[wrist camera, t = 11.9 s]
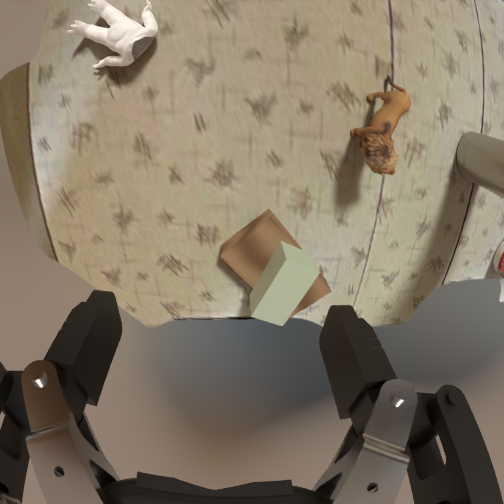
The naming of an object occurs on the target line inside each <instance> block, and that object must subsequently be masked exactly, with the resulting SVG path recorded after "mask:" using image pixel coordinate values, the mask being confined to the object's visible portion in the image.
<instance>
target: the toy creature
mask: <svg viewBox="0 0 504 504" xmlns="http://www.w3.org/2000/svg"><path fill="white" fill-rule="evenodd" d="M91 2H92V4H88V6H89V8H90V9H93V10H94V11H96V12H98V13H99V15H100V16H101V17H102V18H103V19H105V21H106V22H107V23H108V24H109V25H110V26H111V27H110V28H109V29H108V28H103V27H98V26H96V25H92V24H90V25H88V24H86V23H83V22H81V21H74V22H75V24H74V25H70V27H71V28H73V29H71V30H68V31H67V32H68V33H69V34H70V35H80V36H84V37H86V38H88V39H91V40H93V41H94V42H97V43H100V44H103V45H105V46H107V47H108V48H110V49H111V50H112V51H115V52H117V53H119V54H120V55H121V56H108V57H106V58H105V59H103V60H101V61H100V62H99V64H98V65H97V64H95V66H93V65H92V67H94V68H102V67H104V66H105V65H107V66H127V65H130V64H131V63H132V62H133V61H135V60H136V59H138V58H139V57H140V56H141V55H142V54H143V53H144V52H145V51H146V49H147V48H148V47H149V46H150V44H151V43H152V42H153V40H154V38H155V36H156V34H157V33H158V25H157V22H156V20H155V18H154V15H153V14H152V13H151V10H152V7H151V3H150V2H149V1H146V2H147V3H146V5H147V6H146V7H144V10H143V13H142V21H143V22H144V25H145V27H143V26H141V25H140V24H139V23H137V22H136V21H134V20H131V19H129V18H128V17H127V16H125V15H124V14H123V13H122V12H121V11H119V10H117V9H115V8H114V7H113V6H111V5H110V4H108V3H107V2H106V1H105V0H91Z"/></svg>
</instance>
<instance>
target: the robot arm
mask: <svg viewBox="0 0 504 504" xmlns="http://www.w3.org/2000/svg"><path fill="white" fill-rule="evenodd" d="M457 165H458V168H459V171H460V173H461V174H462V176H463V177H464V178H466V179H468V180H470V181H472V182H474V183H476V184H478V185H479V186H481V187H483V188H485V189H487V190H489V191H491V192H493V193H495V194H496V195H498V196H500V197H502V198H504V141H503V140H500V139H496V138H493V137H490V136H487V135H483V134H479V133H476V132H468V133H466V134H465V135H464V136H463V137H462V138H461V140H460V142H459V145H458V149H457ZM121 335H122V322H121V318H120V314H119V310H118V306H117V302H116V298H115V295H114V293H113V292H109V291H100V290H94V291H93V292H92V293H91V295H90V296H89V298H88V299H87V301H86V302H81V303H80V304H78V305H77V306H76V307H75V308H74V309H72V311H71V312H70V314H69V316H68V317H67V319H66V321H65V322H64V324H63V326H62V329H61V330H60V331H59V332H58V334H57V336H56V338H55V339H54V341H53V343H52V345H51V347H50V348H49V350H48V352H47V354H46V356H45V358H44V359H43V360H36V361H33V362H32V363H30V364H29V365H28V366H27V367H26V368H25V369H24V371H7V370H6V369H5V367H4V366H3V365H2V363H1V362H0V414H1V411H2V412H3V413H4V414H5V417H4V420H3V423H2V426H1V429H0V504H22V497H23V490H24V484H25V478H26V473H27V468H28V463H29V458H30V459H31V462H32V465H33V468H34V471H35V473H36V476H37V479H38V482H39V485H40V487H41V490H42V492H43V494H44V497H45V499H46V501H47V504H394V501H395V499H396V497H397V494H398V492H399V489H400V486H401V484H402V482H403V479H404V476H405V473H406V470H407V472H408V476H409V481H410V484H411V489H412V494H413V499H414V504H503V501H502V496H501V492H500V489H499V485H498V481H497V478H496V475H495V471H494V468H493V465H492V462H491V459H490V456H489V453H488V451H487V448H486V445H485V442H484V440H483V437H482V435H481V432H480V430H479V427H478V425H477V423H476V420H475V418H474V415H473V413H472V411H471V409H470V406H469V404H468V402H467V400H466V398H465V396H464V394H463V393H462V391H461V390H460V389H459V388H457V387H455V386H453V385H444V386H442V387H441V388H440V389H439V390H438V391H437V392H436V393H435V394H431V393H418V392H416V391H415V389H414V388H413V387H412V386H411V385H410V384H409V383H407V382H405V381H403V380H399V379H397V377H396V375H395V373H394V371H393V368H392V366H391V364H390V362H389V360H388V358H387V356H386V354H385V352H384V350H383V348H381V344H380V342H379V340H377V336H376V334H375V332H374V330H373V328H372V327H371V326H370V325H369V324H368V323H367V322H366V321H365V320H364V319H363V318H358V317H357V315H356V313H355V311H354V309H353V307H352V306H351V305H332V306H331V307H330V308H329V311H328V314H327V317H326V320H325V323H324V326H323V328H322V331H321V334H320V340H319V345H320V350H321V354H322V357H323V361H324V364H325V367H326V371H327V374H328V378H329V381H330V385H331V388H332V392H333V395H334V399H335V402H336V406H337V409H338V413H339V417H340V419H346V418H351V420H352V423H353V424H352V425H351V426H350V428H349V430H348V432H347V434H346V436H345V438H344V440H343V442H342V444H341V446H340V448H339V450H338V451H337V453H336V455H335V457H334V459H333V461H332V462H331V464H330V466H329V467H328V469H327V470H326V471H325V472H324V473H323V475H322V476H321V477H320V479H319V480H318V481H317V483H316V484H315V486H314V488H313V489H312V490H309V489H306V488H302V487H297V486H292V481H291V480H282V481H267V482H252V483H248V484H244V485H239V486H234V487H229V488H224V489H218V490H210V489H207V488H204V487H200V486H197V485H194V484H190V483H187V482H184V481H181V480H178V479H176V478H171V477H164V476H158V475H152V474H147V473H142V472H137V478H130V479H123V480H120V478H119V476H118V475H117V473H116V471H115V470H114V468H113V467H112V465H111V464H110V463H109V461H108V460H107V459H106V457H105V455H104V454H103V452H102V450H101V448H100V445H99V443H98V441H97V439H96V437H95V435H94V433H93V430H92V428H91V426H90V423H89V421H88V418H87V416H86V414H85V412H84V409H85V406H86V404H90V405H94V406H97V404H98V401H99V397H100V394H101V391H102V388H103V385H104V382H105V379H106V377H107V374H108V371H109V368H110V365H111V362H112V360H113V357H114V354H115V352H116V349H117V346H118V343H119V341H120V339H121ZM438 435H439V437H440V440H441V443H442V446H443V449H444V452H445V455H446V464H445V465H444V463H443V460H442V456H441V454H440V450H439V447H438V444H437V441H436V438H435V437H436V436H438Z"/></svg>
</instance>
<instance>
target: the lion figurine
mask: <svg viewBox="0 0 504 504" xmlns="http://www.w3.org/2000/svg"><path fill="white" fill-rule="evenodd" d="M387 81H388V82H389V84H390V85H391V86H393V87H394V88H396V89H397V90H399V91H389V92H386V93H383V92H378V93H372V94H369V95H368V96H367V99H368V100H369V101H370V102H373V101H374V100H375V99H376V98H378V97H380V98H381V99H382V100H384V101H385V102H386V103H385V105H384V106H383V107H382V108H380V109H379V110H378V111H377V112H376V113H375V115H374V116H373V118H372V121H371V123H370V126H369V127H366V128H355V129H352V130H351V131H350V133H351V136H353V137H357V136H360V137H361V139H360V140H359V143H360V145H361V146H360V150H361V152H362V155H363V156H364V159H365V161H366V164H367V165H368V166H369V167H370V169H371V170H372V171H373V172H374V173H378V174H381V175H384V174H385V173H386V174H390V175H393V174H394V173H395V165H396V162H397V161H398V158H399V156H398V155H397V154H396V152H395V150H394V148H393V144H394V141H393V140H392V133H393V131H394V130H395V128H396V126H397V123H398V121H399V119H400V117H401V116H402V115H403V114H404V113H405V112H407V111H408V110H409V108H410V105H411V100H410V99H409V93H408V92H407V90H405V89H404V88H401V87H399V86H397V85H395V84H394V83H393V82H392V80H391V78H390V76H389V75H388V76H387Z"/></svg>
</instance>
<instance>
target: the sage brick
mask: <svg viewBox="0 0 504 504" xmlns="http://www.w3.org/2000/svg"><path fill="white" fill-rule="evenodd" d="M319 273H320V272H319V270H318V267H317V265H316V263H315V261H314V259H313V257H312V255H311V253H308V252H306V251H304V250H301V249H299V248H297V247H294V246H292V245H290V244H287V243H285V242H282V241H280V243H279V244H278V246H277V248H276V250H275V251H274V253H273V255H272V257H271V258H270V260H269V262H268V264H267V265H266V267H265V269H264V271H263V272H262V274H261V276H260V277H259V279H258V281H257V283H256V284H255V286H254V288H253V289H252V291H251V293H250V310H251V317H254V318H257V319H260V320H263V321H267V322H270V323H273V324H277V325H280V326H283V325H284V323H285V322H286V321H287V319H288V318H289V316H290V315H291V314H292V312H293V311H294V309H295V308H296V307H297V305H298V304H299V302H300V301H301V300H302V298H303V297H304V295H305V294H306V292H307V291H308V290H309V288H310V287H311V285H312V284H313V282H314V281H315V279H316V278H317V276H318V275H319Z"/></svg>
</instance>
